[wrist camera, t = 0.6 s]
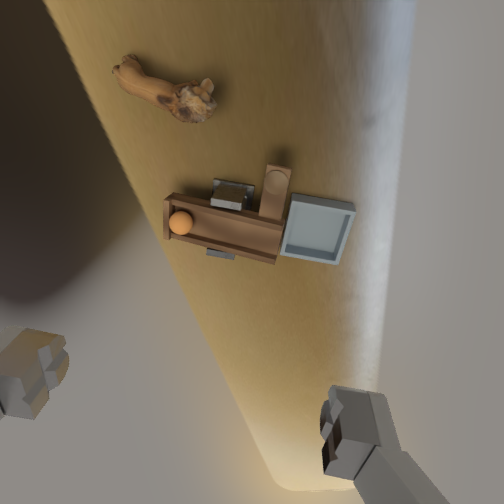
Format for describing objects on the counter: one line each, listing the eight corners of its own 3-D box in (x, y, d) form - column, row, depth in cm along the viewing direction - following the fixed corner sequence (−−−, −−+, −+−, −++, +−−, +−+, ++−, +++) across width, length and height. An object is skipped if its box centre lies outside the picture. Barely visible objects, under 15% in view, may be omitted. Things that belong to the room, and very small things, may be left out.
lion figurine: (229, 77, 41) (214, 82, 34) (222, 121, 44) (207, 135, 36) (114, 48, 41) (73, 48, 33) (114, 94, 44) (77, 103, 36)
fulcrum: (214, 178, 48) (203, 195, 42) (254, 185, 48) (249, 203, 42) (209, 232, 53) (199, 254, 47) (246, 239, 53) (240, 262, 47)
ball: (174, 205, 46) (165, 214, 43) (196, 210, 45) (188, 220, 43) (174, 225, 47) (165, 235, 44) (195, 230, 47) (187, 241, 44)
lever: (174, 142, 42) (163, 147, 40) (296, 168, 40) (293, 175, 38) (172, 229, 49) (163, 239, 46) (276, 256, 47) (273, 267, 44)
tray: (292, 192, 48) (292, 200, 46) (352, 203, 48) (356, 212, 45) (280, 245, 53) (279, 254, 50) (335, 254, 53) (337, 265, 50)
